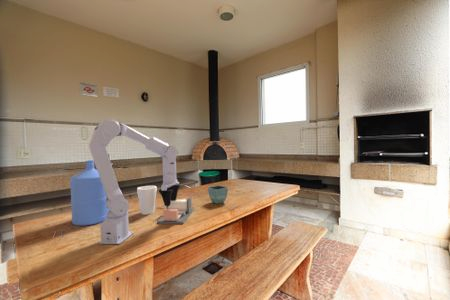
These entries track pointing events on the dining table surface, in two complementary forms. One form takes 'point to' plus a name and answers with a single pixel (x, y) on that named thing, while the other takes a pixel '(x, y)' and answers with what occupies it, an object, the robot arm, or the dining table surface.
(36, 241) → the dining table surface
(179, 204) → the dispenser
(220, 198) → the flower pot
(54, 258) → the dining table surface
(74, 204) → the water jug
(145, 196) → the foam cup
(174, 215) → the pink rectangular block
